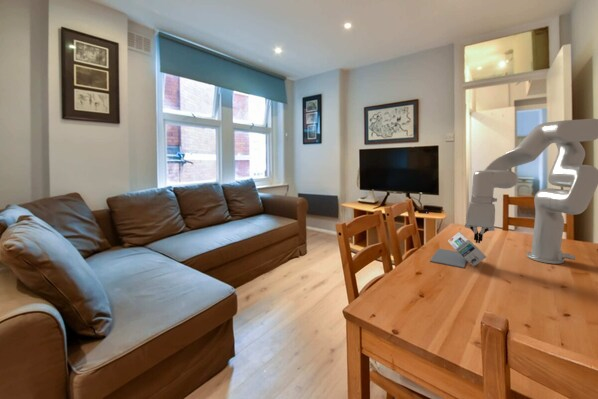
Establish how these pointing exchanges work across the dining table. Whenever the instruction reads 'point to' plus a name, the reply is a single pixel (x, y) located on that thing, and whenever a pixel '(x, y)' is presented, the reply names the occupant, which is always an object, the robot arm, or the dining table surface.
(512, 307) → the dining table surface
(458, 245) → the light bulb box
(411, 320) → the dining table surface
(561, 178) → the robot arm
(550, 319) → the dining table surface
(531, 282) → the dining table surface
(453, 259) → the mat
